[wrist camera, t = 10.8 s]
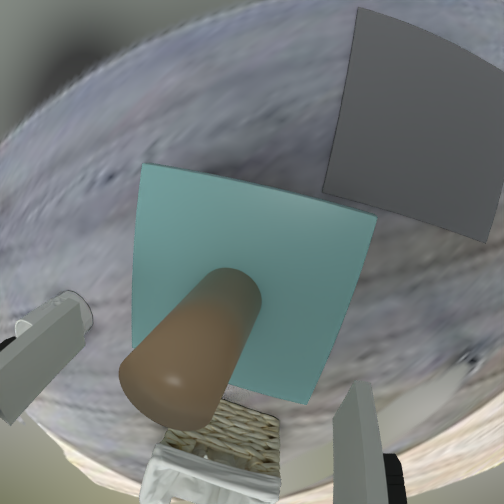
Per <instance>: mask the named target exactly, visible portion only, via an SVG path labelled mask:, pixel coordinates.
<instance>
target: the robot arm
mask: <svg viewBox="0 0 504 504" xmlns="http://www.w3.org/2000/svg"><path fill="white" fill-rule="evenodd" d="M84 346H85V339H84V333H83V326H82V318H81V310H80V302H77V301H75V300H73V299H70V298H67V299H66V300H65V301H63V302H62V303H61V304H59V305H58V306H57V307H55V308H54V309H53V310H52V311H50V312H49V313H48V314H46V315H45V316H44V317H43V318H41V319H40V320H39V321H37V322H36V323H35V324H34V325H32V326H31V327H30V328H29V329H27V330H26V331H25V332H24V333H22V334H21V335H20V336H19V337H18V338H16V337H15V336H14V337H11V338H9V339H6V340H4V341H3V342H2V343H1V344H0V418H2V419H3V420H4V421H5V422H6V423H8V424H9V425H10V426H11V425H12V424H13V423H14V422H15V420H16V419H17V418H18V417H19V416H20V415H21V414H22V412H23V411H24V410H25V409H26V408H27V407H28V406H29V405H30V404H31V403H32V401H33V400H34V399H35V398H36V397H37V396H38V395H39V394H40V393H41V392H42V390H43V389H44V388H45V387H46V386H47V385H48V384H49V383H50V382H51V381H52V380H53V379H54V378H55V377H56V376H57V374H58V373H59V372H60V371H61V370H62V369H63V368H64V367H65V366H66V365H67V364H68V363H69V362H70V361H71V360H72V359H73V358H74V357H75V356H76V355H77V354H78V353H79V352H80V351H81V350H82V348H83V347H84ZM333 446H334V447H333V448H334V487H333V504H407V498H406V491H405V486H404V477H403V471H402V465H401V463H400V461H399V459H398V458H397V456H396V454H384V453H383V452H382V445H381V439H380V433H379V426H378V420H377V414H376V409H375V403H374V398H373V393H372V388H371V383H369V382H362V381H356V380H355V381H354V383H353V385H352V386H351V388H350V390H349V392H348V394H347V395H346V397H345V399H344V401H343V402H342V404H341V406H340V407H339V409H338V411H337V412H336V414H335V416H334V417H333Z"/></svg>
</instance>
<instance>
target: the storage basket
mask: <svg viewBox="0 0 504 504" xmlns="http://www.w3.org/2000/svg"><path fill="white" fill-rule="evenodd" d="M279 449H280V439H279V421H278V420H277V419H276V418H274V417H272V416H270V415H267V414H261V413H259V412H257V411H254V410H251V409H247V408H244V407H243V406H240V405H237V404H234V403H231V402H228V401H226V400H223V399H221V400H220V402H219V405H218V407H217V409H216V411H215V413H214V415H213V418H212V420H211V421H210V423H209V424H208V425H207V426H205V427H204V428H202V429H200V430H196V431H179V430H174V429H171V428H168V431H167V432H166V433H165V437H164V438H163V440H162V441H161V442H160V443H157V444H156V446H155V448H154V451H153V453H152V457H151V458H150V460H149V463H148V465H147V468H146V471H145V474H144V477H143V481H142V485H141V489H140V494H139V501H140V504H170V502H171V498H172V497H177V498H181V499H184V500H187V501H189V502H192V503H196V504H275V503H276V502H278V500H279V493H280V487H281V478H280V472H279V469H280V465H279V462H280V458H279V456H280V451H279Z"/></svg>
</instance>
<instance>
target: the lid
mask: <svg viewBox="0 0 504 504" xmlns="http://www.w3.org/2000/svg"><path fill="white" fill-rule="evenodd" d="M377 218H378V217H377V216H376V215H375V214H373V213H369V212H366V211H362V210H359V209H355V208H352V207H348V206H345V205H341V204H337V203H334V202H330V201H326V200H323V199H319V198H315V197H311V196H307V195H303V194H299V193H295V192H291V191H287V190H283V189H279V188H274V187H270V186H266V185H261V184H257V183H253V182H248V181H243V180H239V179H234V178H229V177H224V176H220V175H215V174H210V173H205V172H199V171H194V170H189V169H183V168H178V167H172V166H166V165H160V164H154V163H142V170H141V178H140V186H139V194H138V203H137V214H136V225H135V238H134V253H133V273H132V348H134V350H133V351H132V352H131V353H130V354H129V355H128V356H127V357H126V358H125V359H124V361H123V362H122V363H121V365H120V368H119V380H120V384H121V387H122V389H123V391H124V393H125V395H126V396H127V398H128V399H129V400H130V402H131V403H132V404H133V405H134V406H135V407H136V408H137V409H138V410H139V411H140V412H141V413H143V414H144V415H145V416H146V417H148V418H149V419H151V420H153V421H154V422H156V423H158V424H160V425H162V426H165V427H168V428H171V429H174V430H179V431H196V430H200V429H202V428H204V427H205V426H207V425H208V424H209V423H210V421H211V420H212V418H213V415H214V413H215V411H216V409H217V407H218V405H219V402H220V400H221V398H222V396H223V394H224V391H225V389H226V387H227V385H228V384H231V385H234V386H237V387H241V388H244V389H247V390H251V391H254V392H258V393H261V394H265V395H268V396H272V397H276V398H280V399H284V400H288V401H292V402H296V403H300V404H304V405H307V403H308V401H309V399H310V397H311V395H312V392H313V390H314V388H315V386H316V384H317V382H318V379H319V377H320V375H321V373H322V371H323V368H324V366H325V364H326V361H327V359H328V357H329V354H330V352H331V350H332V347H333V345H334V342H335V340H336V337H337V335H338V332H339V330H340V327H341V325H342V322H343V320H344V317H345V315H346V312H347V309H348V307H349V304H350V301H351V298H352V296H353V293H354V290H355V287H356V284H357V281H358V279H359V276H360V273H361V270H362V267H363V264H364V261H365V258H366V254H367V251H368V248H369V245H370V242H371V238H372V235H373V232H374V228H375V225H376V221H377Z"/></svg>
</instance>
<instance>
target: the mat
mask: <svg viewBox="0 0 504 504" xmlns="http://www.w3.org/2000/svg"><path fill="white" fill-rule="evenodd" d="M503 181H504V72H502V71H501V70H499V69H498V68H496V67H495V66H493V65H491V64H490V63H488V62H486V61H485V60H483V59H481V58H480V57H478V56H476V55H474V54H473V53H471V52H469V51H467V50H465V49H463V48H461V47H460V46H458V45H456V44H454V43H452V42H450V41H448V40H446V39H443V38H441V37H439V36H437V35H435V34H433V33H430V32H428V31H426V30H423V29H421V28H419V27H416V26H414V25H411V24H409V23H406V22H403V21H401V20H398V19H395V18H392V17H389V16H386V15H383V14H380V13H377V12H374V11H371V10H367V9H364V8H361V7H358V10H357V17H356V24H355V31H354V37H353V43H352V49H351V55H350V61H349V66H348V72H347V78H346V83H345V88H344V93H343V99H342V104H341V109H340V114H339V118H338V123H337V128H336V133H335V137H334V142H333V147H332V151H331V156H330V160H329V164H328V169H327V173H326V177H325V181H324V186H323V190H322V193H326V194H330V195H334V196H337V197H341V198H345V199H349V200H352V201H356V202H360V203H363V204H367V205H370V206H374V207H377V208H381V209H384V210H387V211H391V212H394V213H397V214H401V215H404V216H407V217H410V218H413V219H417V220H420V221H423V222H426V223H429V224H432V225H435V226H438V227H441V228H444V229H447V230H450V231H452V232H455V233H458V234H461V235H464V236H467V237H469V238H472V239H475V240H477V241H480V242H483V243H485V244H486V241H487V239H488V236H489V232H490V229H491V226H492V223H493V220H494V216H495V213H496V209H497V206H498V202H499V198H500V194H501V190H502V186H503Z"/></svg>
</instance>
